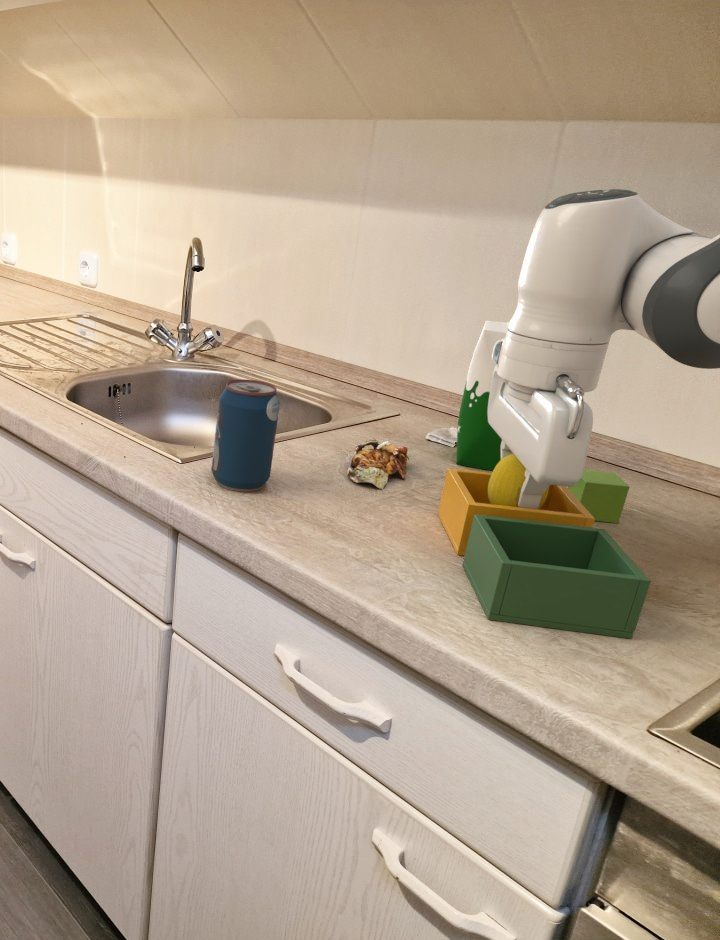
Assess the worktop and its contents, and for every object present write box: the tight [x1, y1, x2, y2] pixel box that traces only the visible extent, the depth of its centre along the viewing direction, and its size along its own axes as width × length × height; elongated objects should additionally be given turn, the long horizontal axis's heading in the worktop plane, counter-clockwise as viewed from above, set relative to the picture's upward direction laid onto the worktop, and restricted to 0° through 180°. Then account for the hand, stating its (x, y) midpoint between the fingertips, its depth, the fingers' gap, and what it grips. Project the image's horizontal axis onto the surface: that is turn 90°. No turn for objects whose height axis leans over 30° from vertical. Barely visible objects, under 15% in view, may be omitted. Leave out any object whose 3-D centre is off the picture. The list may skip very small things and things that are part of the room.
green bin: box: [461, 514, 652, 640], centre depth 77 cm, size 12×11×6 cm
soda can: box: [210, 379, 281, 493], centre depth 100 cm, size 7×7×12 cm
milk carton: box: [456, 319, 510, 472], centre depth 109 cm, size 9×9×20 cm
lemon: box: [488, 454, 549, 510], centre depth 88 cm, size 6×6×8 cm
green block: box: [567, 469, 630, 524], centre depth 97 cm, size 4×4×4 cm
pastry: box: [346, 437, 410, 490], centre depth 107 cm, size 7×12×4 cm, turn 156°
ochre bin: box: [437, 467, 595, 556], centre depth 89 cm, size 12×11×6 cm
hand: (516, 494), depth 88 cm, fingers closed on lemon, 5 cm apart
